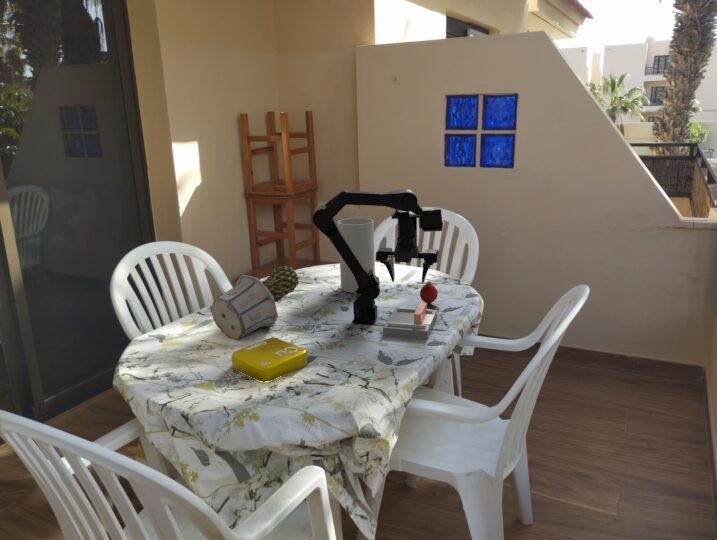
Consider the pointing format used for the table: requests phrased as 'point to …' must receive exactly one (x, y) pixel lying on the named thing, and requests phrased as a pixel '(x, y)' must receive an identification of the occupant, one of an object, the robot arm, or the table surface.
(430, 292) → the pomegranate
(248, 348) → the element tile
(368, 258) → the cylinder vase
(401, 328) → the box
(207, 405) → the table surface
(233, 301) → the potted plant
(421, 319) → the lever
